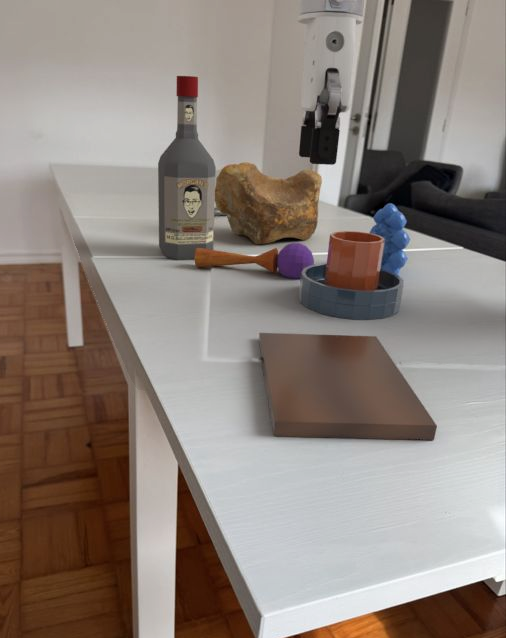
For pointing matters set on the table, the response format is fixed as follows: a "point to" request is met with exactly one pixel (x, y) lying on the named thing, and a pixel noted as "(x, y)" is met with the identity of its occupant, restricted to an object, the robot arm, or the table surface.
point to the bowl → (350, 296)
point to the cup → (354, 260)
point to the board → (339, 389)
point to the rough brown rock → (268, 203)
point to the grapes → (391, 237)
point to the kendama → (262, 259)
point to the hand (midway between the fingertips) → (316, 160)
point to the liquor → (186, 183)
